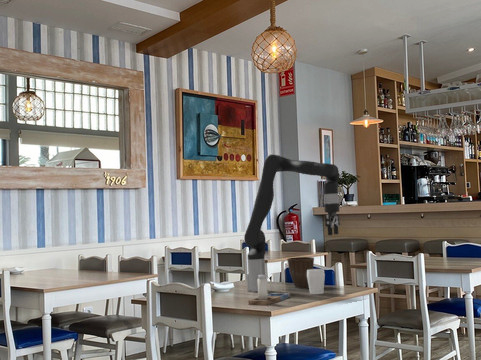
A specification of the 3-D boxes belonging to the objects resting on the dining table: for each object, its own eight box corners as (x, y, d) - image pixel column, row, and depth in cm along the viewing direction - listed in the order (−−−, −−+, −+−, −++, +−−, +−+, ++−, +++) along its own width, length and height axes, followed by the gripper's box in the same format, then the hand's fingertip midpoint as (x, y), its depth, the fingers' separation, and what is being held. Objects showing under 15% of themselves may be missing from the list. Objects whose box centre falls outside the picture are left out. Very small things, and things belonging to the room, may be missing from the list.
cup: (322, 291, 305) (321, 268, 306) (328, 294, 296) (326, 269, 297) (305, 293, 304) (304, 269, 305) (310, 295, 295) (309, 271, 296)
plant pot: (318, 287, 323) (317, 258, 324) (291, 289, 321) (290, 259, 321) (311, 284, 337) (310, 256, 338) (286, 286, 335) (284, 258, 336)
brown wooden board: (248, 305, 269) (248, 300, 269) (273, 297, 292) (273, 292, 292) (266, 306, 265) (265, 301, 265) (290, 298, 288) (290, 293, 288)
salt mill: (256, 303, 272) (255, 275, 272) (261, 302, 275) (259, 274, 276) (265, 303, 269) (264, 275, 270) (269, 302, 273) (268, 274, 274)
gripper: (329, 203, 310) (331, 234, 309) (319, 203, 298) (321, 235, 297) (343, 202, 307) (345, 233, 306) (333, 202, 294) (335, 235, 293)
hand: (333, 234), depth 301 cm, fingers open, 8 cm apart
